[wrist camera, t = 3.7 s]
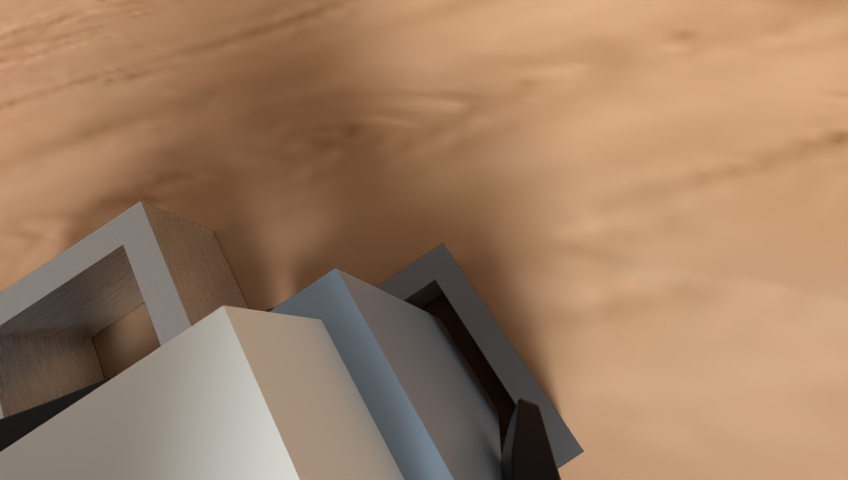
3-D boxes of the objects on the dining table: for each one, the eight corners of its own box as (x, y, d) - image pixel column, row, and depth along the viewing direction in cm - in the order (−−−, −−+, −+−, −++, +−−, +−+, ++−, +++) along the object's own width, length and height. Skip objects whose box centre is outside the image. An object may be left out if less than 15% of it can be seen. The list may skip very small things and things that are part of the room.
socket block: (115, 508, 16) (-18, 566, 12) (62, 329, 19) (-63, 324, 14) (288, 394, 16) (216, 411, 12) (212, 230, 19) (131, 197, 14)
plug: (407, 470, 15) (-59, 1153, 2) (356, 373, 16) (-130, 476, 4) (498, 411, 15) (522, 772, 2) (440, 318, 16) (250, 226, 4)
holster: (391, 544, 14) (365, 594, 11) (301, 359, 16) (261, 362, 14) (565, 430, 14) (584, 451, 11) (451, 260, 16) (443, 242, 14)
